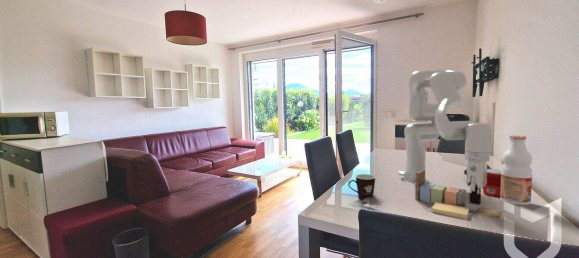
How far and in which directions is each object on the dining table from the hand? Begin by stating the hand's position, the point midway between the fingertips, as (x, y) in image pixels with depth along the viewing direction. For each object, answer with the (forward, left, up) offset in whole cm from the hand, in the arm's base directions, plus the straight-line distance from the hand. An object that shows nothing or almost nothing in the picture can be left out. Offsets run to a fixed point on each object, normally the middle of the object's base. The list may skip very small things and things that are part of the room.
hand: (475, 203), depth 98 cm
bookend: (-2, -1, -2) cm, 3 cm away
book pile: (-6, -9, -4) cm, 11 cm away
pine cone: (-7, +51, -4) cm, 51 cm away
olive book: (-12, 0, -2) cm, 13 cm away
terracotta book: (-7, 0, -2) cm, 8 cm away
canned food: (+2, +29, -4) cm, 29 cm away
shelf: (-6, 0, -4) cm, 7 cm away
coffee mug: (-40, -13, -4) cm, 43 cm away
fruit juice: (+10, +21, -4) cm, 23 cm away
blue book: (-17, 0, -2) cm, 17 cm away
